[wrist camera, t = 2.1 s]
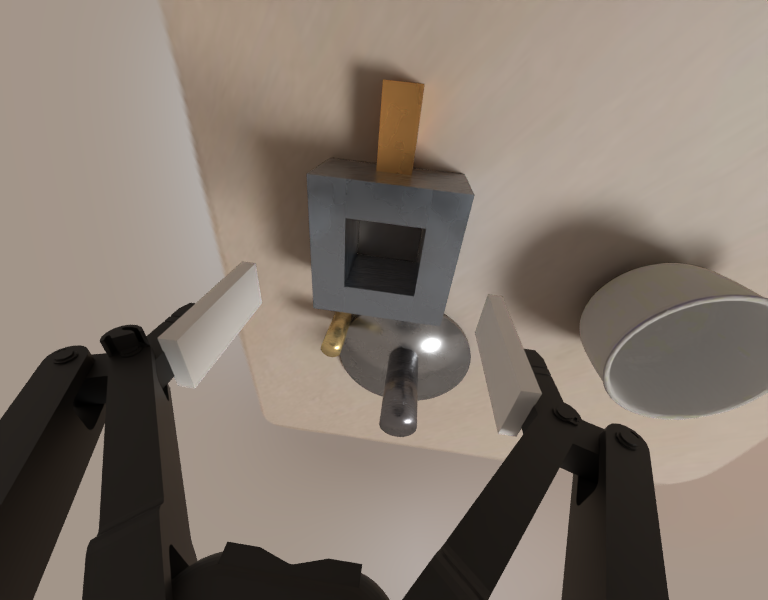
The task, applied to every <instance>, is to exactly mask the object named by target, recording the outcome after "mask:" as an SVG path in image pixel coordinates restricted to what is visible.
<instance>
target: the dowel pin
mask: <svg viewBox="0 0 768 600" xmlns="http://www.w3.org/2000/svg"><path fill="white" fill-rule="evenodd" d="M351 320H352V314H351V313H344V312H337V311H336V312H335V314H334V317H333V319H332V322H331V324H330V326H329V329H328V331H327V334H326V336H325V339H324V341H323V343H322V346H321V350H322V352H323V353H324V354H325V355H327V356H329V357H336V356H338V355H340V353H341V350H342V347H343V344H344V341H345V338H346V335H347V332H348V329H349V326H350V323H351Z"/></svg>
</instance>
